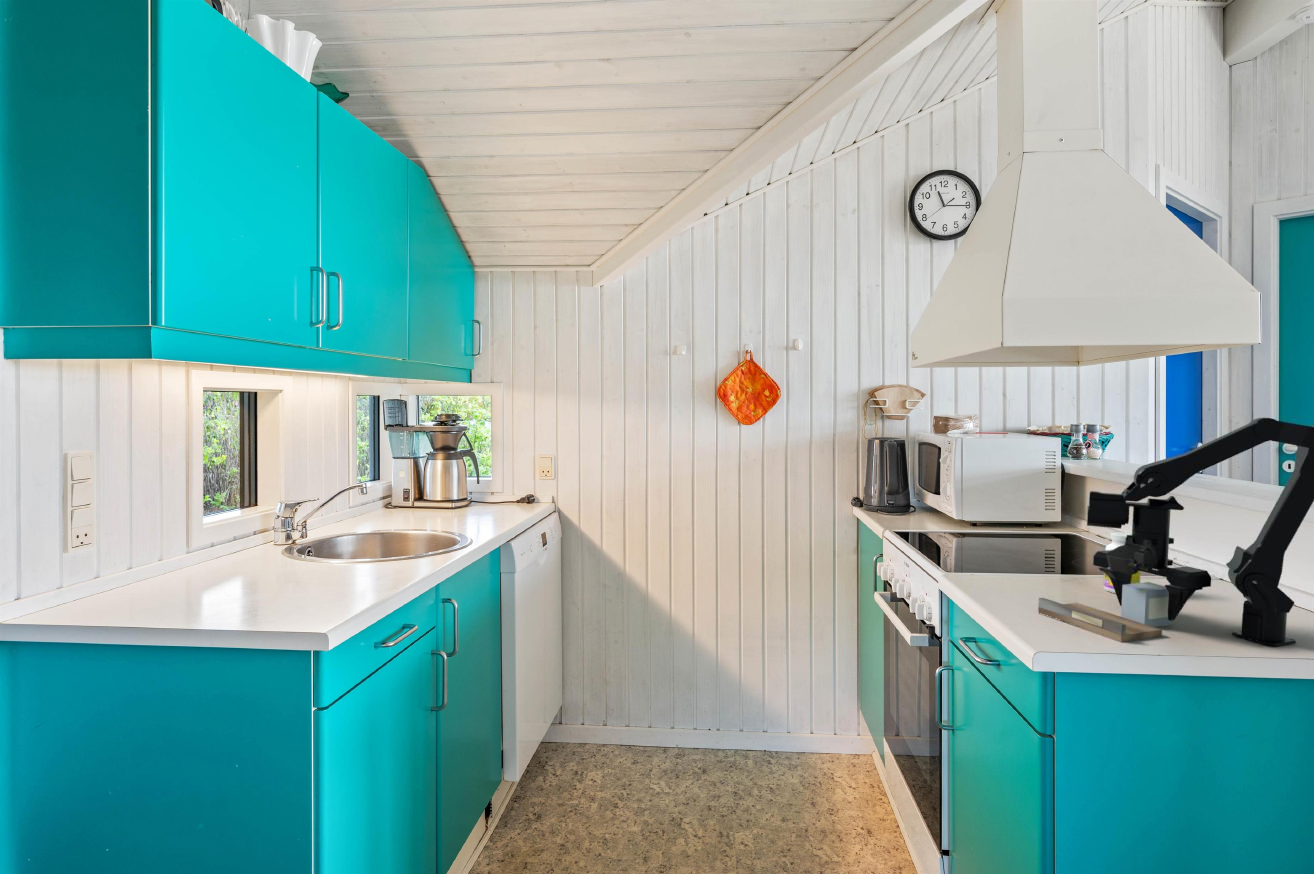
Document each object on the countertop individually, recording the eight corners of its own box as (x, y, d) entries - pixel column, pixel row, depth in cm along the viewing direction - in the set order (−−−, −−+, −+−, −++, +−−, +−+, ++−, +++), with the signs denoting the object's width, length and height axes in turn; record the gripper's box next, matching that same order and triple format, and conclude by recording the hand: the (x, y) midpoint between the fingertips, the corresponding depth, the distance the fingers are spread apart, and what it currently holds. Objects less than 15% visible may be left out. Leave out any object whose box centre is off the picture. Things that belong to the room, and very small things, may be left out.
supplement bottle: (1105, 586, 157) (1108, 530, 156) (1140, 591, 153) (1143, 533, 152) (1101, 592, 152) (1104, 534, 151) (1138, 598, 147) (1141, 538, 147)
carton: (1120, 620, 132) (1122, 584, 131) (1147, 617, 134) (1148, 582, 134) (1145, 628, 127) (1147, 591, 127) (1171, 625, 130) (1173, 588, 129)
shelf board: (1076, 608, 139) (1076, 593, 139) (1161, 636, 123) (1162, 619, 123) (1037, 612, 136) (1038, 597, 136) (1120, 642, 120) (1121, 625, 120)
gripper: (1073, 524, 136) (1070, 602, 137) (1171, 543, 118) (1166, 633, 119) (1115, 522, 140) (1111, 598, 141) (1215, 540, 122) (1210, 627, 123)
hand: (1146, 612), depth 131 cm, fingers open, 9 cm apart
